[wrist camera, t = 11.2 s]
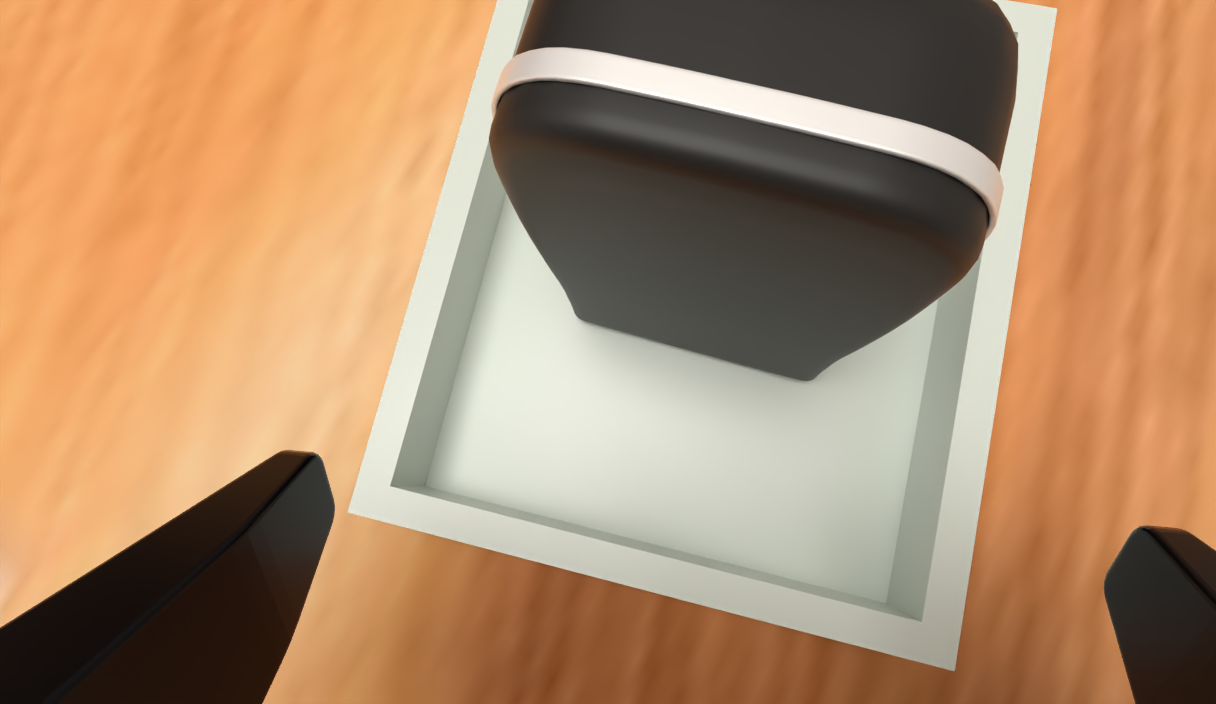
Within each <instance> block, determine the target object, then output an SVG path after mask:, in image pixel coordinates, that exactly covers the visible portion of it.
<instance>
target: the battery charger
mask: <svg viewBox="0 0 1216 704" xmlns="http://www.w3.org/2000/svg"><path fill="white" fill-rule="evenodd" d="M1017 75H1018V42H1017V39H1016V37H1015V34H1014V32H1013V29H1012V27H1011V24H1010V22H1009V21H1008V19H1007V18H1006V16H1005V15H1004V13H1003V12H1002V10H1001V9H1000V7H999V5H998V4H997V3H996V2H994V1H993V0H534V1H533V4H532V7H531V10H530V13H529V16H528V19H527V22H526V25H525V28H524V31H523V34H522V36H521V39H520V42H519V45H518V48H517V51H516V54H515V57H514V58H513V59H511V60H510V61H509V62H508V63H507V65H506V66H505V67H504V69H503V70H502V72H501V75H500V78H499V81H498V84H497V87H496V90H495V92H494V95H493V99H492V103H491V109H492V116H493V121H492V124H491V129H490V134H489V143H490V148H491V153H492V158H493V162H494V166H495V169H496V171H497V174H498V176H499V178H500V180H501V182H502V185H503V187H504V189H505V191H506V193H507V195H508V197H509V199H510V201H511V203H512V205H513V207H514V209H515V211H516V213H517V215H518V217H519V219H520V221H521V223H522V224H523V226H524V228H525V230H526V232H527V233H528V235H529V237H530V239H531V240H532V242H533V243H534V245H535V246H536V248H537V250H538V251H539V253H540V254H541V256H542V257H543V259H544V261H545V262H546V264H547V265H548V267H549V268H550V270H551V271H552V273H553V274H554V275H555V277H556V278H557V280H558V281H559V283H560V284H561V286H562V288H563V289H564V291H565V293H566V295H567V297H568V299H569V301H570V303H571V305H572V308H573V310H574V313H575V315H576V316H577V317H578V318H579V319H581V320H583V321H586V322H589V323H593V324H596V325H600V326H603V327H607V328H610V329H614V330H617V331H621V332H625V333H628V334H632V335H635V336H639V337H643V338H646V339H650V340H654V341H657V342H661V343H664V344H668V345H672V346H675V347H679V348H682V349H686V350H690V351H693V352H697V353H701V354H704V355H708V356H712V357H715V358H719V359H723V360H727V361H730V362H734V363H738V364H741V365H745V366H749V367H752V368H756V369H760V370H764V371H767V372H771V373H775V374H779V375H782V376H786V377H790V378H794V379H797V380H802V381H810V380H813V379H815V378H816V377H817V376H818V375H819V374H820V373H821V372H822V371H824V370H825V369H827V368H828V367H829V366H830V365H832V364H833V363H835V362H836V361H838V360H840V359H841V358H843V357H845V356H847V355H849V354H851V353H853V352H855V351H857V350H859V349H861V348H863V347H865V346H866V345H868V344H870V343H872V342H874V341H875V340H877V339H879V338H881V337H882V336H884V335H886V334H888V333H889V332H891V331H893V330H894V329H896V328H897V327H899V326H900V325H902V324H904V323H905V322H907V321H908V320H910V319H911V318H913V317H914V316H915V315H917V314H918V313H920V312H921V311H922V310H924V309H925V308H927V307H928V306H929V305H931V304H932V303H933V302H934V301H936V300H937V299H938V298H940V297H941V296H942V295H944V294H945V293H946V292H947V291H949V290H950V289H951V288H952V287H954V286H955V285H956V284H957V283H959V282H960V281H961V280H962V279H963V278H964V277H965V276H966V274H967V273H968V272H969V270H970V269H971V268H972V267H973V265H974V264H975V263H976V261H977V260H978V258H979V256H980V253H981V251H982V248H983V246H984V242H985V240H986V239H987V238H988V237H989V236H990V234H991V233H992V231H993V229H994V228H995V226H996V223H997V218H998V214H999V209H1000V205H1001V200H1002V195H1003V190H1004V187H1003V183H1002V178H1001V175H1000V168H1001V164H1002V159H1003V155H1004V150H1005V146H1006V141H1007V137H1008V132H1009V128H1010V123H1011V119H1012V114H1013V109H1014V105H1015V100H1016V87H1017Z"/></svg>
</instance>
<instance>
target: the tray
mask: <svg viewBox="0 0 1216 704" xmlns="http://www.w3.org/2000/svg"><path fill="white" fill-rule="evenodd" d="M533 1H534V0H498V1H497V4H496V7H495V11H494V14H493V18H492V21H491V25H490V28H489V31H488V35H487V38H486V42H485V45H484V48H483V52H482V55H481V59H480V62H479V65H478V69H477V72H476V76H475V79H474V83H473V86H472V89H471V93H470V96H469V100H468V103H467V106H466V110H465V113H464V117H463V120H462V123H461V127H460V130H459V134H458V137H457V141H456V144H455V147H454V151H453V154H452V158H451V161H450V164H449V168H448V171H447V175H446V178H445V181H444V185H443V188H442V192H441V195H440V199H439V202H438V205H437V209H436V212H435V216H434V219H433V222H432V226H431V229H430V233H429V236H428V239H427V243H426V246H425V250H424V253H423V257H422V260H421V263H420V267H419V270H418V274H417V277H416V280H415V284H414V287H413V291H412V294H411V298H410V301H409V304H408V308H407V311H406V315H405V318H404V321H403V325H402V328H401V332H400V335H399V338H398V342H397V345H396V349H395V352H394V356H393V359H392V362H391V366H390V369H389V373H388V376H387V379H386V383H385V386H384V390H383V393H382V396H381V400H380V403H379V407H378V410H377V414H376V417H375V420H374V424H373V427H372V431H371V434H370V437H369V441H368V444H367V448H366V451H365V454H364V458H363V461H362V465H361V468H360V472H359V475H358V478H357V482H356V485H355V489H354V492H353V495H352V499H351V502H350V506H349V509H348V513H352V514H356V515H359V516H363V517H367V518H371V519H375V520H378V521H382V522H386V523H390V524H394V525H398V526H401V527H405V528H409V529H413V530H417V531H420V532H424V533H428V534H432V535H436V536H439V537H443V538H447V539H451V540H455V541H459V542H462V543H466V544H470V545H474V546H478V547H481V548H485V549H489V550H493V551H497V552H501V553H504V554H508V555H512V556H516V557H520V558H523V559H527V560H531V561H535V562H539V563H543V564H546V565H550V566H554V567H558V568H562V569H565V570H569V571H573V572H577V573H581V574H585V575H588V576H592V577H596V578H600V579H604V580H607V581H611V582H615V583H619V584H623V585H626V586H630V587H634V588H638V589H642V590H646V591H649V592H653V593H657V594H661V595H665V596H668V597H672V598H676V599H680V600H684V601H688V602H691V603H695V604H699V605H703V606H707V607H710V608H714V609H718V610H722V611H726V612H730V613H733V614H737V615H741V616H745V617H749V618H752V619H756V620H760V621H764V622H768V623H771V624H775V625H779V626H783V627H787V628H791V629H794V630H798V631H802V632H806V633H810V634H813V635H817V636H821V637H825V638H829V639H833V640H836V641H840V642H844V643H848V644H852V645H855V646H859V647H863V648H867V649H871V650H875V651H878V652H882V653H886V654H890V655H894V656H897V657H901V658H905V659H909V660H913V661H916V662H920V663H924V664H928V665H932V666H936V667H939V668H943V669H947V670H951V671H955V666H956V659H957V653H958V646H959V640H960V633H961V627H962V620H963V614H964V607H965V601H966V595H967V588H968V582H969V575H970V569H971V562H972V556H973V549H974V543H975V536H976V530H977V523H978V517H979V511H980V504H981V498H982V491H983V485H984V478H985V472H986V465H987V459H988V452H989V446H990V439H991V433H992V426H993V420H994V414H995V407H996V401H997V394H998V388H999V381H1000V375H1001V368H1002V362H1003V355H1004V349H1005V342H1006V336H1007V330H1008V323H1009V317H1010V310H1011V304H1012V297H1013V291H1014V284H1015V278H1016V271H1017V265H1018V258H1019V252H1020V246H1021V239H1022V233H1023V226H1024V220H1025V213H1026V207H1027V200H1028V194H1029V187H1030V181H1031V174H1032V168H1033V162H1034V155H1035V149H1036V142H1037V136H1038V129H1039V123H1040V116H1041V110H1042V103H1043V97H1044V90H1045V84H1046V78H1047V71H1048V65H1049V58H1050V52H1051V45H1052V39H1053V32H1054V26H1055V19H1056V13H1057V8H1052V7H1045V6H1039V5H1033V4H1026V3H1020V2H1014V1H1007V0H993V1H994V2H996V3H997V4H998V5H999V7H1000V9H1001V10H1002V12H1003V13H1004V15H1005V16H1006V18H1007V19H1008V21H1009V22H1010V24H1011V27H1012V29H1013V32H1014V34H1015V37H1016V39H1017V42H1018V75H1017V87H1016V100H1015V105H1014V109H1013V114H1012V119H1011V123H1010V128H1009V132H1008V137H1007V141H1006V146H1005V150H1004V155H1003V159H1002V164H1001V168H1000V175H1001V178H1002V183H1003V187H1004V190H1003V195H1002V200H1001V205H1000V209H999V214H998V218H997V223H996V226H995V228H994V229H993V231H992V233H991V234H990V236H989V237H988V238H987V239H986V240H985V242H984V246H983V248H982V251H981V253H980V256H979V258H978V260H977V261H976V263H975V264H974V265H973V267H972V268H971V269H970V270H969V272H968V273H967V274H966V276H965V277H964V278H963V279H962V280H961V281H960V282H959V283H957V284H956V285H955V286H954V287H952V288H951V289H950V290H949V291H947V292H946V293H945V294H944V295H942V296H941V297H940V298H938V299H937V300H936V301H934V302H933V303H932V304H931V305H929V306H928V307H927V308H925V309H924V310H922V311H921V312H920V313H918V314H917V315H915V316H914V317H913V318H911V319H910V320H908V321H907V322H905V323H904V324H902V325H900V326H899V327H897V328H896V329H894V330H893V331H891V332H889V333H888V334H886V335H884V336H882V337H881V338H879V339H877V340H875V341H874V342H872V343H870V344H868V345H866V346H865V347H863V348H861V349H859V350H857V351H855V352H853V353H851V354H849V355H847V356H845V357H843V358H841V359H840V360H838V361H836V362H835V363H833V364H832V365H830V366H829V367H828V368H827V369H825V370H824V371H822V372H821V373H820V374H819V375H818V376H817V377H816V378H815V379H813V380H810V381H802V380H797V379H794V378H790V377H786V376H782V375H779V374H775V373H771V372H767V371H764V370H760V369H756V368H752V367H749V366H745V365H741V364H738V363H734V362H730V361H727V360H723V359H719V358H715V357H712V356H708V355H704V354H701V353H697V352H693V351H690V350H686V349H682V348H679V347H675V346H672V345H668V344H664V343H661V342H657V341H654V340H650V339H646V338H643V337H639V336H635V335H632V334H628V333H625V332H621V331H617V330H614V329H610V328H607V327H603V326H600V325H596V324H593V323H589V322H586V321H583V320H581V319H579V318H578V317H577V316H576V315H575V313H574V310H573V308H572V305H571V303H570V301H569V299H568V297H567V295H566V293H565V291H564V289H563V288H562V286H561V284H560V283H559V281H558V280H557V278H556V277H555V275H554V274H553V273H552V271H551V270H550V268H549V267H548V265H547V264H546V262H545V261H544V259H543V257H542V256H541V254H540V253H539V251H538V250H537V248H536V246H535V245H534V243H533V242H532V240H531V239H530V237H529V235H528V233H527V232H526V230H525V228H524V226H523V224H522V223H521V221H520V219H519V217H518V215H517V213H516V211H515V209H514V207H513V205H512V203H511V201H510V199H509V197H508V195H507V193H506V191H505V189H504V187H503V185H502V182H501V180H500V178H499V176H498V174H497V171H496V169H495V166H494V162H493V158H492V153H491V148H490V143H489V134H490V129H491V124H492V121H493V116H492V109H491V103H492V99H493V95H494V92H495V90H496V87H497V84H498V81H499V78H500V75H501V72H502V70H503V69H504V67H505V66H506V65H507V63H508V62H509V61H510V60H511V59H513V58H514V57H515V54H516V51H517V48H518V45H519V42H520V39H521V36H522V34H523V31H524V28H525V25H526V22H527V19H528V16H529V13H530V10H531V7H532V4H533Z"/></svg>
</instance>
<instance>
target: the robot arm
mask: <svg viewBox="0 0 1216 704" xmlns="http://www.w3.org/2000/svg"><path fill="white" fill-rule="evenodd" d="M334 512H335V504H334V499H333V495H332V492H331V488H330V485H329V481H328V478H327V474H326V471H325V467H324V463H323V461H322V459H321V457H320V456H319V455H318V454H316V453H314V452H304V451H293V450H285V451H281V452H279V453H277V454H275V455H273V456H272V457H270V458H269V459H267V460H265V461H264V462H262V463H261V464H259V465H258V466H256V467H254V468H253V469H251V470H250V471H248V472H246V473H245V474H243V475H242V476H240V477H238V478H237V479H235V480H234V481H232V482H231V483H229V484H227V485H226V486H224V487H223V488H221V489H219V490H218V491H216V492H215V493H213V494H212V495H210V496H208V497H207V498H205V499H204V500H202V501H200V502H199V503H197V504H196V505H194V506H192V507H191V508H189V509H188V510H186V511H185V512H183V513H181V514H180V515H178V516H177V517H175V518H173V519H172V520H170V521H169V522H167V523H166V524H164V525H162V526H161V527H159V528H158V529H156V530H154V531H153V532H151V533H150V534H148V535H147V536H145V537H143V538H142V539H140V540H139V541H137V542H135V543H134V544H132V545H131V546H129V547H127V548H126V549H124V550H123V551H121V552H120V553H118V554H116V555H115V556H113V557H112V558H110V559H108V560H107V561H105V562H104V563H102V564H101V565H99V566H97V567H96V568H94V569H93V570H91V571H89V572H88V573H86V574H85V575H83V576H81V577H80V578H78V579H77V580H75V581H74V582H72V583H70V584H69V585H67V586H66V587H64V588H62V589H61V590H59V591H58V592H56V593H55V594H53V595H51V596H50V597H48V598H47V599H45V600H43V601H42V602H40V603H39V604H37V605H36V606H34V607H32V608H31V609H29V610H28V611H26V612H24V613H23V614H21V615H20V616H18V617H16V618H15V619H13V620H12V621H10V622H9V623H7V624H5V625H4V626H2V627H1V628H0V704H262V703H263V701H264V699H265V697H266V694H267V692H268V690H269V688H270V686H271V684H272V682H273V680H274V678H275V675H276V673H277V671H278V669H279V667H280V665H281V663H282V660H283V658H284V656H285V654H286V651H287V649H288V647H289V645H290V642H291V640H292V637H293V634H294V632H295V629H296V626H297V624H298V621H299V618H300V615H301V612H302V610H303V607H304V604H305V601H306V598H307V595H308V592H309V589H310V586H311V584H312V581H313V578H314V575H315V572H316V569H317V566H318V563H319V560H320V558H321V555H322V552H323V549H324V546H325V543H326V540H327V537H328V534H329V532H330V529H331V526H332V523H333V519H334ZM1104 592H1105V598H1106V602H1107V605H1108V609H1109V613H1110V616H1111V620H1112V623H1113V627H1114V630H1115V634H1116V637H1117V641H1118V644H1119V648H1120V651H1121V655H1122V658H1123V662H1124V665H1125V669H1126V672H1127V676H1128V679H1129V683H1130V686H1131V690H1132V693H1133V697H1134V700H1135V704H1216V551H1215V550H1214V549H1212V548H1211V547H1210V546H1208V545H1207V544H1205V543H1204V542H1203V541H1201V540H1200V539H1198V538H1197V537H1195V536H1194V535H1192V534H1191V533H1189V532H1187V531H1185V530H1182V529H1178V528H1169V527H1158V526H1140V527H1139V528H1137V529H1135V530H1134V531H1133V532H1132V533H1131V534H1130V536H1129V538H1128V539H1127V541H1126V543H1125V544H1124V546H1123V547H1122V549H1121V551H1120V552H1119V554H1118V556H1117V557H1116V559H1115V561H1114V562H1113V564H1112V565H1111V567H1110V569H1109V570H1108V572H1107V574H1106V578H1105V582H1104Z"/></svg>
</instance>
